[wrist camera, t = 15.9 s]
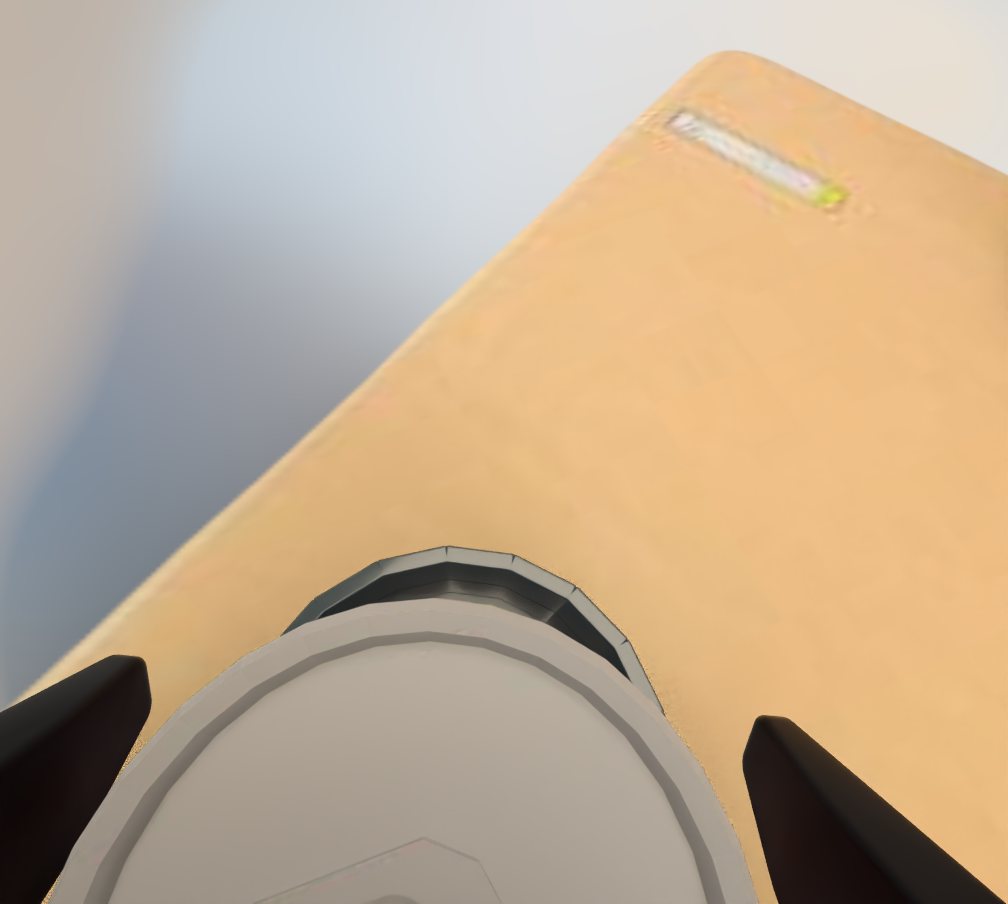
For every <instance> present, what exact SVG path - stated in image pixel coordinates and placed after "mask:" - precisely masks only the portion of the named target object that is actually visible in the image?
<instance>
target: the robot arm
mask: <svg viewBox="0 0 1008 904" xmlns="http://www.w3.org/2000/svg"><path fill="white" fill-rule="evenodd" d="M151 703H152V698H151V691H150V685H149V679H148V672H147V666H146V662H145V661H144V660H143V658H140V657H137V656H126V655H112V656H109V657H107V658H104V659H102V660H101V661H99V662H97V663H95V664H93V665H91V666H89V667H87V668H85V669H83V670H81V671H79V672H77V673H76V674H74V675H72V676H70V677H68V678H66V679H64V680H62V681H60V682H58V683H56V684H54V685H52V686H51V687H49V688H47V689H45V690H43V691H41V692H39V693H37V694H35V695H33V696H31V697H29V698H27V699H26V700H24V701H22V702H20V703H18V704H16V705H14V706H12V707H10V708H8V709H6V710H4V711H2V712H1V713H0V904H41V903H42V901H43V900H44V898H45V896H46V895H47V893H48V892H49V890H50V889H51V887H52V886H53V884H54V883H55V881H56V879H57V878H58V876H59V875H60V873H61V872H62V870H63V869H64V866H65V864H66V862H67V860H68V857H69V855H70V853H71V851H72V849H73V847H74V845H75V843H76V842H77V840H78V839H79V837H80V836H81V834H82V833H83V831H84V830H85V828H86V827H87V825H88V823H89V822H90V820H91V819H92V817H93V816H94V814H95V813H96V811H97V810H98V808H99V807H100V805H101V803H102V802H103V800H104V799H105V797H106V796H107V794H108V792H109V790H110V789H111V787H112V785H113V783H114V781H115V779H116V777H117V775H118V773H119V771H120V770H121V768H122V766H123V764H124V762H125V760H126V758H127V756H128V754H129V753H130V751H131V749H132V747H133V745H134V743H135V741H136V739H137V737H138V735H139V734H140V732H141V730H142V728H143V726H144V724H145V722H146V720H147V718H148V716H149V713H150V710H151ZM742 764H743V772H744V777H745V781H746V785H747V788H748V792H749V796H750V800H751V804H752V808H753V812H754V816H755V820H756V824H757V828H758V832H759V836H760V839H761V843H762V847H763V851H764V855H765V859H766V863H767V867H768V871H769V874H770V878H771V881H772V885H773V888H774V891H775V894H776V897H777V900H778V903H779V904H1006V903H1005V902H1004V901H1003V900H1001V899H1000V898H999V897H998V896H997V895H996V894H994V893H993V892H992V891H991V890H990V889H988V888H987V887H986V886H985V885H984V884H983V883H981V882H980V881H979V880H978V879H977V878H976V877H974V876H973V875H972V874H971V873H970V872H969V871H967V870H966V869H965V868H964V867H963V866H961V865H960V864H959V863H958V862H957V861H956V860H954V859H953V858H952V857H951V856H950V855H949V854H947V853H946V852H945V851H944V850H943V849H942V848H940V847H939V846H938V845H937V844H936V843H934V842H933V841H932V840H931V839H930V838H929V837H927V836H926V835H925V834H924V833H923V832H922V831H920V830H919V829H918V828H917V827H916V826H915V825H913V824H912V823H911V822H910V821H909V820H908V819H906V818H905V817H904V816H903V815H902V814H900V813H899V812H898V811H897V810H896V809H895V808H893V807H892V806H891V805H890V804H889V803H888V802H886V801H885V800H884V799H883V798H882V797H881V796H879V795H878V794H877V793H876V792H875V791H873V790H872V789H871V788H870V787H869V786H868V785H866V784H865V783H864V782H863V781H862V780H861V779H859V778H858V777H857V776H856V775H855V774H854V773H852V772H851V771H850V770H849V769H848V768H846V767H845V766H844V765H843V764H842V763H841V762H839V761H838V760H837V759H836V758H835V757H834V756H832V755H831V754H830V753H829V752H828V751H827V750H825V749H824V748H823V747H822V746H821V745H819V744H818V743H817V742H816V741H815V740H814V739H812V738H811V737H810V736H809V735H808V734H807V733H805V732H804V731H803V730H802V729H801V728H800V727H798V726H797V725H796V724H795V723H794V722H792V721H791V720H790V719H788V718H785V717H779V716H768V715H761V716H759V717H758V718H757V719H756V720H755V722H754V725H753V728H752V731H751V733H750V736H749V739H748V742H747V745H746V748H745V751H744V754H743V760H742Z"/></svg>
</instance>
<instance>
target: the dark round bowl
mask: <svg viewBox="0 0 1008 904" xmlns="http://www.w3.org/2000/svg"><path fill="white" fill-rule="evenodd" d="M429 598H440V599H449V600H457V601H465V602H473V603H482V604H490V605H494V606H497V607H500V608H503V609H505V610H508V611H511V612H514V613H517V614H520V615H523V616H526V617H528V618H531V619H534V620H537V621H540V622H543V623H546V624H547V625H549V626H552V627H553V628H555V629H557V630H558V631H560V632H561V633H563V634H565V635H566V636H568V637H570V638H571V639H573V640H575V641H576V642H578V643H580V644H581V645H583V646H585V647H586V648H588V649H590V650H591V651H593V652H595V653H596V654H598V655H600V656H601V657H603V658H605V659H606V660H607V661H608V662H609V663H611V664H612V665H613V666H614V667H615V668H616V669H617V670H618V671H619V672H620V673H621V674H623V675H624V676H625V677H626V678H627V679H628V680H629V681H630V682H631V683H632V684H633V685H634V686H636V687H637V688H638V689H639V690H640V691H641V692H642V693H643V694H644V695H645V696H646V697H648V698H649V699H650V700H651V701H652V702H653V703H654V704H655V705H656V706H657V707H658V708H659V710H660V711H661V712H662V714H663V715H664V716H665V714H664V710H663V708H662V706H661V704H660V702H659V699H658V697H657V695H656V693H655V691H654V689H653V687H652V685H651V683H650V681H649V679H648V677H647V675H646V673H645V671H644V669H643V667H642V665H641V663H640V661H639V659H638V657H637V655H636V653H635V651H634V649H633V647H632V645H631V643H630V641H629V640H627V637H626V636H625V635H624V634H623V633H622V632H621V631H620V630H619V629H618V628H617V627H616V626H615V625H614V624H613V623H612V622H611V621H610V620H609V618H608V617H607V616H606V615H605V614H604V613H603V612H602V611H601V610H600V609H599V608H598V607H597V606H596V605H595V604H594V603H593V602H592V601H591V600H590V599H589V598H588V597H587V596H586V595H585V594H584V593H583V592H582V591H581V590H580V589H579V588H578V587H576V586H575V585H574V584H572V583H570V582H568V581H566V580H564V579H562V578H560V577H558V576H556V575H554V574H552V573H550V572H549V571H547V570H545V569H543V568H541V567H539V566H537V565H535V564H533V563H531V562H529V561H527V560H525V559H523V558H521V557H519V556H517V555H514V554H509V553H502V552H494V551H486V550H478V549H470V548H463V547H455V546H447V547H446V546H442V547H437V548H433V549H428V550H423V551H419V552H414V553H409V554H405V555H400V556H395V557H391V558H386V559H382V560H379V561H376V562H374V563H372V564H371V565H369V566H367V567H366V568H364V569H362V570H361V571H359V572H357V573H356V574H354V575H352V576H351V577H349V578H347V579H346V580H344V581H342V582H341V583H339V584H337V585H336V586H334V587H332V588H331V589H329V590H327V591H326V592H324V593H322V594H321V595H319V596H317V597H316V598H315V599H314V600H312V601H311V602H310V603H309V604H308V605H307V606H306V608H305V609H304V610H303V611H302V612H301V613H300V614H299V615H298V617H297V618H296V619H295V620H294V621H293V622H292V623H291V624H290V626H289V627H288V628H287V629H286V630H285V631H284V632H283V634H282V635H281V636H283V635H284V634H286V633H288V632H290V631H292V630H294V629H296V628H298V627H299V626H301V625H303V624H305V623H308V622H312V621H315V620H318V619H321V618H325V617H328V616H331V615H334V614H338V613H341V612H344V611H348V610H351V609H354V608H357V607H361V606H364V605H367V604H375V603H386V602H397V601H407V600H418V599H429ZM281 636H280V637H281Z"/></svg>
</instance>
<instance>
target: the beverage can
mask: <svg viewBox="0 0 1008 904" xmlns="http://www.w3.org/2000/svg"><path fill="white" fill-rule="evenodd" d="M48 904H759V901H758V898H757V895H756V892H755V889H754V886H753V882H752V879H751V876H750V873H749V870H748V867H747V864H746V860H745V857H744V854H743V851H742V848H741V845H740V841H739V839H738V837H737V835H736V833H735V831H734V829H733V827H732V825H731V823H730V821H729V819H728V817H727V815H726V813H725V811H724V809H723V807H722V805H721V803H720V801H719V799H718V797H717V795H716V793H715V791H714V789H713V787H712V785H711V783H710V781H709V779H708V777H707V775H706V773H705V772H704V770H703V768H702V766H701V764H700V763H699V762H698V760H697V759H696V758H695V756H694V755H693V754H692V752H691V751H690V750H689V748H688V747H687V746H686V744H685V743H684V742H683V740H682V739H681V738H680V736H679V735H678V734H677V732H676V731H675V730H674V728H673V727H672V726H671V724H670V723H669V722H668V720H667V719H666V718H665V716H664V715H663V714H662V712H661V711H660V710H659V708H658V707H657V706H656V705H655V704H654V703H653V702H652V701H651V700H650V699H649V698H648V697H646V696H645V695H644V694H643V693H642V692H641V691H640V690H639V689H638V688H637V687H636V686H634V685H633V684H632V683H631V682H630V681H629V680H628V679H627V678H626V677H625V676H624V675H623V674H621V673H620V672H619V671H618V670H617V669H616V668H615V667H614V666H613V665H612V664H611V663H609V662H608V661H607V660H606V659H605V658H603V657H601V656H600V655H598V654H596V653H595V652H593V651H591V650H590V649H588V648H586V647H585V646H583V645H581V644H580V643H578V642H576V641H575V640H573V639H571V638H570V637H568V636H566V635H565V634H563V633H561V632H560V631H558V630H557V629H555V628H553V627H552V626H549V625H547V624H546V623H543V622H540V621H537V620H534V619H531V618H528V617H526V616H523V615H520V614H517V613H514V612H511V611H508V610H505V609H503V608H500V607H497V606H494V605H490V604H482V603H473V602H465V601H457V600H449V599H440V598H429V599H418V600H407V601H397V602H386V603H375V604H367V605H364V606H361V607H357V608H354V609H351V610H348V611H344V612H341V613H338V614H334V615H331V616H328V617H325V618H321V619H318V620H315V621H312V622H308V623H305V624H303V625H301V626H299V627H298V628H296V629H294V630H292V631H290V632H288V633H286V634H284V635H283V636H281V637H279V638H277V639H275V640H273V641H271V642H269V643H268V644H266V645H264V646H262V647H260V648H258V649H256V650H254V651H252V652H251V653H249V654H247V655H245V656H243V657H242V658H240V659H239V660H238V661H237V662H235V663H234V664H233V665H232V666H230V667H229V668H228V669H226V670H225V671H224V672H223V673H221V674H220V675H219V676H218V677H216V678H215V679H214V680H213V681H211V682H210V683H209V684H207V685H206V686H205V687H204V688H202V689H201V690H200V691H199V692H197V693H196V694H195V695H194V696H192V697H191V698H190V699H188V700H187V701H186V702H185V703H183V704H182V705H181V706H180V707H179V708H178V709H177V711H176V712H175V713H174V714H173V715H172V716H171V717H170V718H169V719H168V721H167V722H166V723H165V724H164V725H163V726H162V727H161V728H160V729H159V730H158V732H157V733H156V734H155V735H154V736H153V737H152V738H151V739H150V740H149V742H148V743H147V744H146V745H145V746H144V747H143V748H142V749H141V750H140V752H139V753H138V754H137V755H136V756H135V757H134V758H133V759H132V760H131V761H130V763H129V764H128V765H127V766H126V767H125V768H124V770H123V771H122V773H121V774H120V776H119V777H118V779H117V780H116V782H115V783H114V785H113V787H112V788H111V790H110V791H109V793H108V794H107V796H106V797H105V799H104V800H103V802H102V803H101V805H100V807H99V808H98V810H97V811H96V813H95V814H94V816H93V817H92V819H91V820H90V822H89V823H88V825H87V827H86V828H85V830H84V831H83V833H82V834H81V836H80V837H79V839H78V840H77V842H76V843H75V845H74V847H73V849H72V851H71V853H70V855H69V857H68V860H67V862H66V864H65V866H64V869H63V871H62V873H61V875H60V877H59V880H58V882H57V884H56V886H55V889H54V891H53V893H52V895H51V897H50V900H49V902H48Z"/></svg>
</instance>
